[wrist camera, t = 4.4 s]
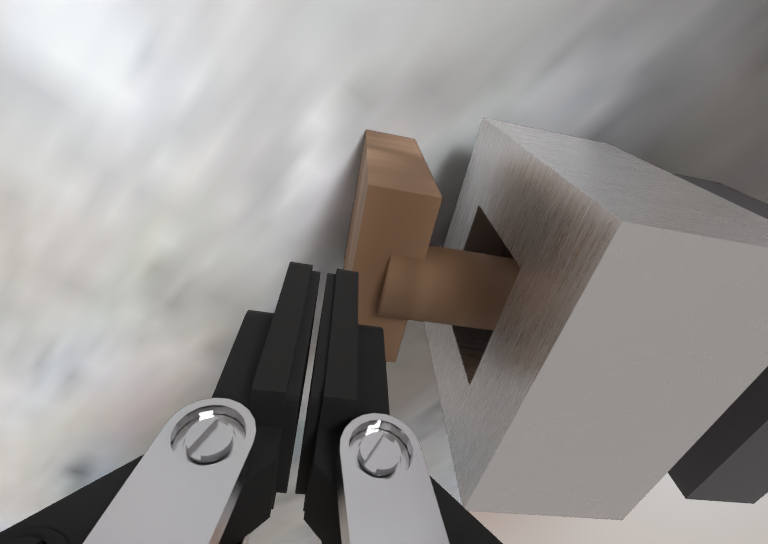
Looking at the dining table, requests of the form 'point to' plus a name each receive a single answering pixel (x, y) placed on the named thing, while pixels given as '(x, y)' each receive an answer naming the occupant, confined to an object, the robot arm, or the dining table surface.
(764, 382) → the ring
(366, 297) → the dowel rail
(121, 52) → the dining table surface
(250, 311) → the robot arm
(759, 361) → the sleeve
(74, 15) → the dining table surface
